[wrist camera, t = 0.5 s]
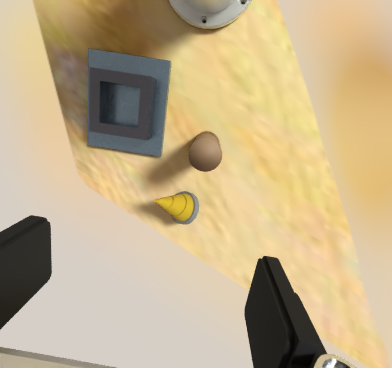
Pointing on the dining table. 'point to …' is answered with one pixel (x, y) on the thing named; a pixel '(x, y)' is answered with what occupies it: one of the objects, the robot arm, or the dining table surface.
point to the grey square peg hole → (127, 101)
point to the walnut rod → (205, 152)
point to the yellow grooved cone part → (180, 207)
